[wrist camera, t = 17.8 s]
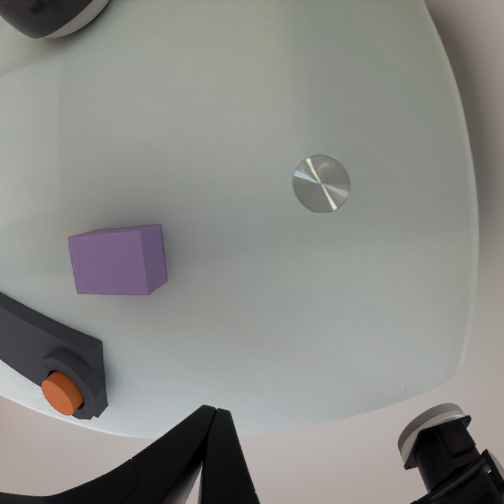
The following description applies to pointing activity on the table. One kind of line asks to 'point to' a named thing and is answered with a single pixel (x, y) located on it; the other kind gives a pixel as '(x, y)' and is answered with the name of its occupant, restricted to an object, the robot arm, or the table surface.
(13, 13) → the dark grey egg dome
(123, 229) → the soap bar
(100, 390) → the button base
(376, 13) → the table surface
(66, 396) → the orange push button
